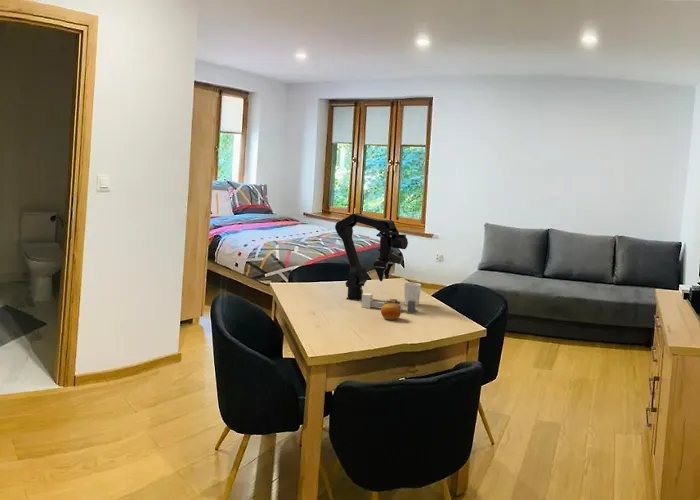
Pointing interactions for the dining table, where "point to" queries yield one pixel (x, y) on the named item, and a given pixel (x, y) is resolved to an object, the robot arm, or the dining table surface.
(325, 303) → the dining table surface
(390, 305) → the fruit
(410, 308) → the telltale
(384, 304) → the housing
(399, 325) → the dining table surface
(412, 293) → the white cup
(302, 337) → the dining table surface
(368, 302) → the grey bar
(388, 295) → the dining table surface
